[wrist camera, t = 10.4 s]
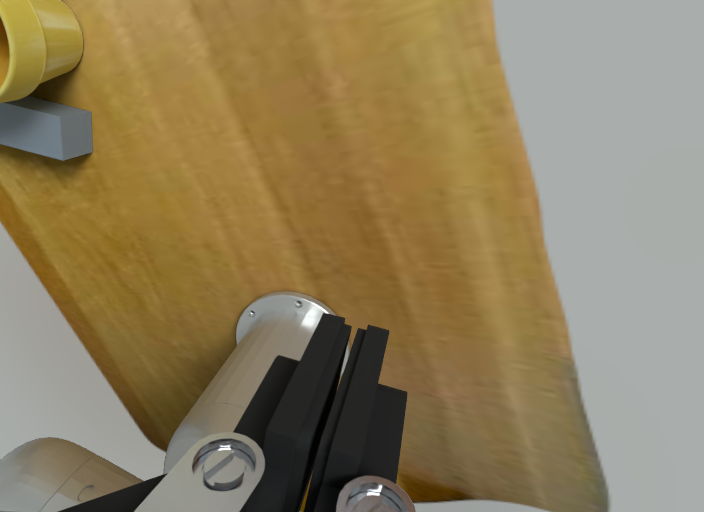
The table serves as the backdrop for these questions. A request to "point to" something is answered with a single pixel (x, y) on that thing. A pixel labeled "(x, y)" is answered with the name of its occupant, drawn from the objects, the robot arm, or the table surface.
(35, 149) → the bar
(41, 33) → the plant pot
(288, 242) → the table surface
